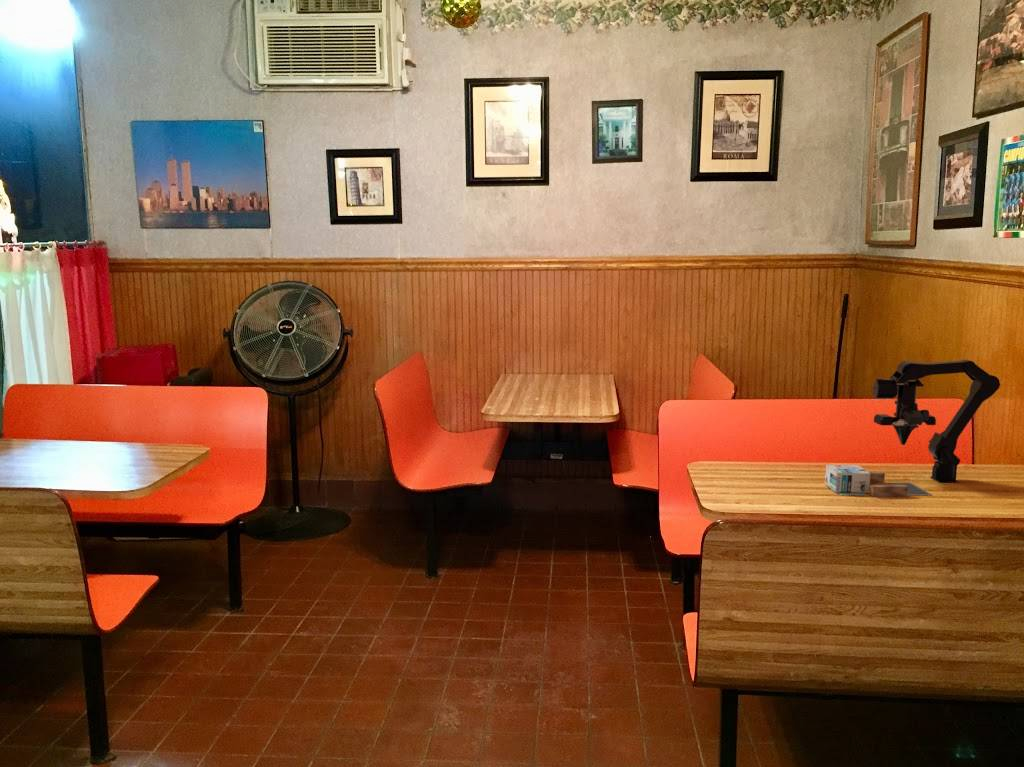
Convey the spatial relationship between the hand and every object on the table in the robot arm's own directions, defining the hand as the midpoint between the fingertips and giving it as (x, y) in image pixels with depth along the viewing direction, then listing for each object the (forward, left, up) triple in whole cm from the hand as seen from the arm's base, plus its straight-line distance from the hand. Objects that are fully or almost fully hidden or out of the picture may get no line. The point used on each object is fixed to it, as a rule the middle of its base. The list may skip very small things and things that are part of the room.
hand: (902, 444), depth 285 cm
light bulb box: (+18, +12, -8) cm, 23 cm away
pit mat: (+3, +12, -12) cm, 17 cm away
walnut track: (+13, +12, -12) cm, 22 cm away
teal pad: (+24, +12, -12) cm, 29 cm away
